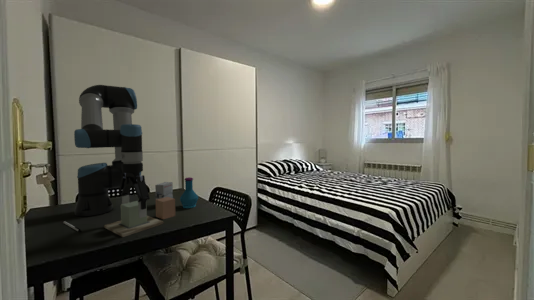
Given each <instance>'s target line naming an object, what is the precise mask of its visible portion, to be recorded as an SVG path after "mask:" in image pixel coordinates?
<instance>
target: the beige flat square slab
mask: <svg viewBox="0 0 534 300" xmlns="http://www.w3.org/2000/svg"><path fill="white" fill-rule="evenodd" d="M163 224H164V221H163V220H162V219H158V218H155V217H152V216H150V215H147V222H146V223H143V224H140V225H136V226H133V227H130V228H129V227H127V226H125V225H123V224H121V220H118V221H114V222H111V223H107V224H104V225H103V228H105V229H107V230H108V231H110V232H111V233H114V234H115V235H118V236H120V237H122V238H124V237H125V238H126V237H128V236H131V235H133V234H137V233H140V232H143V231H146V230H149V229H152V228H156V227H159V226H161V225H163Z"/></svg>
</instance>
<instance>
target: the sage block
mask: <svg viewBox="0 0 534 300" xmlns="http://www.w3.org/2000/svg"><path fill="white" fill-rule="evenodd" d="M147 204H148V203H147V202H146V215H147V216H148V210H147V209H148V207H147ZM147 216H146V217H142V218H139V212H138V200H135V201H130V203H125V204H122V203H121V204H120V221H121V224H123V225H125V226H127V227H129V228H130V227H133V226H136V225H140V224H143V223H146V222H147Z"/></svg>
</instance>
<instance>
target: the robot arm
mask: <svg viewBox="0 0 534 300" xmlns="http://www.w3.org/2000/svg"><path fill="white" fill-rule="evenodd" d="M136 94H137V93H136V92H135V90H134V89H133V88H132V87H126V86H117V85H116V86H115V85H106V84H95V85H92V86H89V87H87V88H85V89H84V90H83V91H81V93H80V94H79V98H78V103H79V106H80V107H81V114H80V116H81V124H80V128H76V129H75V130H74V134H73V135H74V139H73V140H74V146H75V147H76V148H78V149H97V148H99V149H100V148H101V149H102V148H114V155H115V156H114V159H113V160H112V161H111V164H110V165H108V163H107V162H99V163H96V162H95V163H91V164H86V165H83V166H80V167H79V168H78V169H77V176H76V178H77V186H78V189H77V190H78V194H77V195H78V199H77V201H76V204H75V207H74V211H73V212H74V216H77V217H89V216H91V217H92V216H97V215H102V214H106V213H108V212H111V211H112V210H114V205H113V204H114V203H113V202H112V200H111V197H110V195H109V190H110V189H117V188H119V189H118V194H119V195H120V196H121V204H125V203H130V202H131V201H130V191H131V189H132V188H134V191H135V193H136V196H137V198H138V200H137V201H138V212H139V218H142V217H146V216H148V214H147V215H146V203H147V201H148V200H150V194H149V191H148V187H147V184H146V179H145V175H144V174H143V175H142V172H143V171H144V164H143V161H144V158H143V157H144V154H143V131H142V125H140V124H133V121H132V120H133V118H132V115H133V114H134V113H135V110H137V109H138V100H137V95H136ZM102 108H107V109H109V110H108V111H109V113H110V114H112V121H113V129H104V126H103V115H102V113H103V112H102Z"/></svg>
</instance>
